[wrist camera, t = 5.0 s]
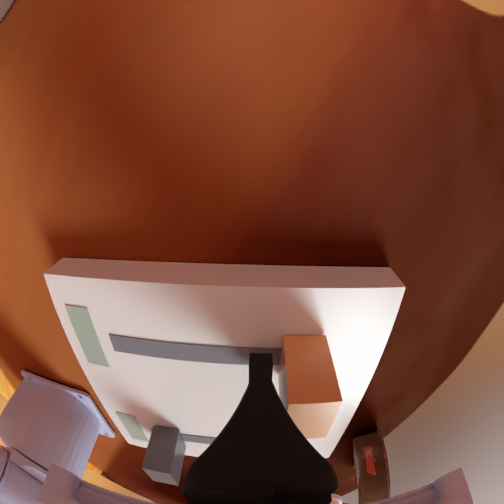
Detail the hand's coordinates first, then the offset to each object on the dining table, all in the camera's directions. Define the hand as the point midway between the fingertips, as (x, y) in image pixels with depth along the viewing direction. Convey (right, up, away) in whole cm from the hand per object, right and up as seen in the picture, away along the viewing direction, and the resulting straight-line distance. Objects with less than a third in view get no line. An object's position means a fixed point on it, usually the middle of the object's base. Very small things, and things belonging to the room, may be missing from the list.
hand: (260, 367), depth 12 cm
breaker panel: (-3, -3, +5) cm, 6 cm away
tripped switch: (+2, 0, +1) cm, 2 cm away
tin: (+11, -15, +10) cm, 22 cm away
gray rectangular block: (-7, -9, +5) cm, 12 cm away
